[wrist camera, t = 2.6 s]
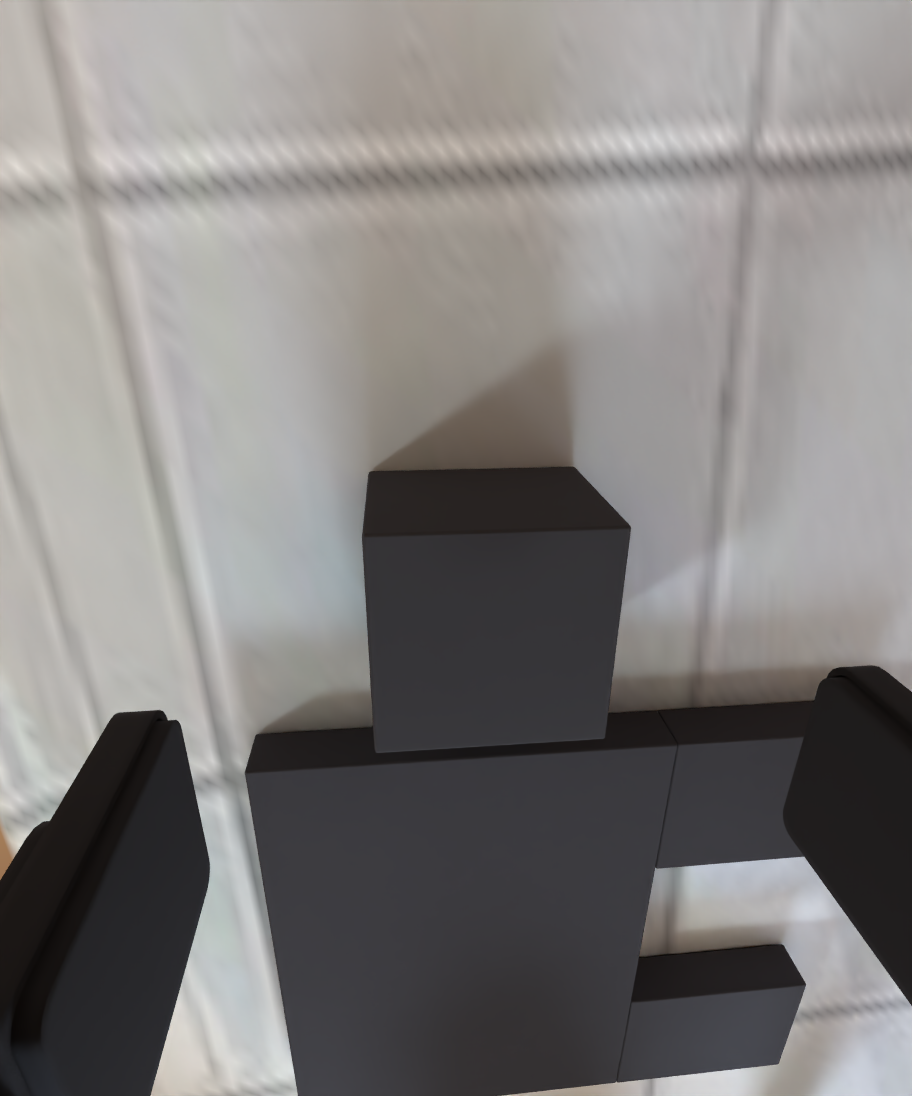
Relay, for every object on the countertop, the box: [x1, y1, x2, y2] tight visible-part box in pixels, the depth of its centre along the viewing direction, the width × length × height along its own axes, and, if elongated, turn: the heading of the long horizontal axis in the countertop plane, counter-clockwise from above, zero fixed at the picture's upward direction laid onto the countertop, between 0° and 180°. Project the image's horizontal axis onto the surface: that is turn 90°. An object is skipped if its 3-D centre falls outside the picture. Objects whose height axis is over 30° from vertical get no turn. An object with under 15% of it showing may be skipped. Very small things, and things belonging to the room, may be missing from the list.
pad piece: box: [362, 467, 631, 753], centre depth 14 cm, size 5×5×4 cm
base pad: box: [245, 701, 814, 1096], centre depth 21 cm, size 18×16×2 cm
